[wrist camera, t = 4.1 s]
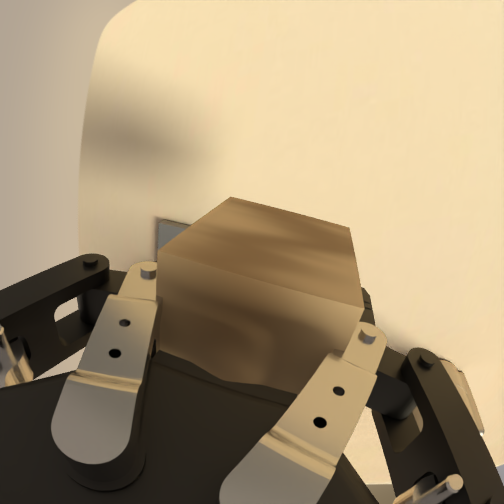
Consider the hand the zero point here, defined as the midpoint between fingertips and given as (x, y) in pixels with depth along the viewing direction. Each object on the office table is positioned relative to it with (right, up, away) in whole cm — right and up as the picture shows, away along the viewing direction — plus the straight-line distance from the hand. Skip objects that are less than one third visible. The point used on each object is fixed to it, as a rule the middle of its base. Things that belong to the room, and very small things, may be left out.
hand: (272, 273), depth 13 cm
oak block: (0, 0, +1) cm, 1 cm away
